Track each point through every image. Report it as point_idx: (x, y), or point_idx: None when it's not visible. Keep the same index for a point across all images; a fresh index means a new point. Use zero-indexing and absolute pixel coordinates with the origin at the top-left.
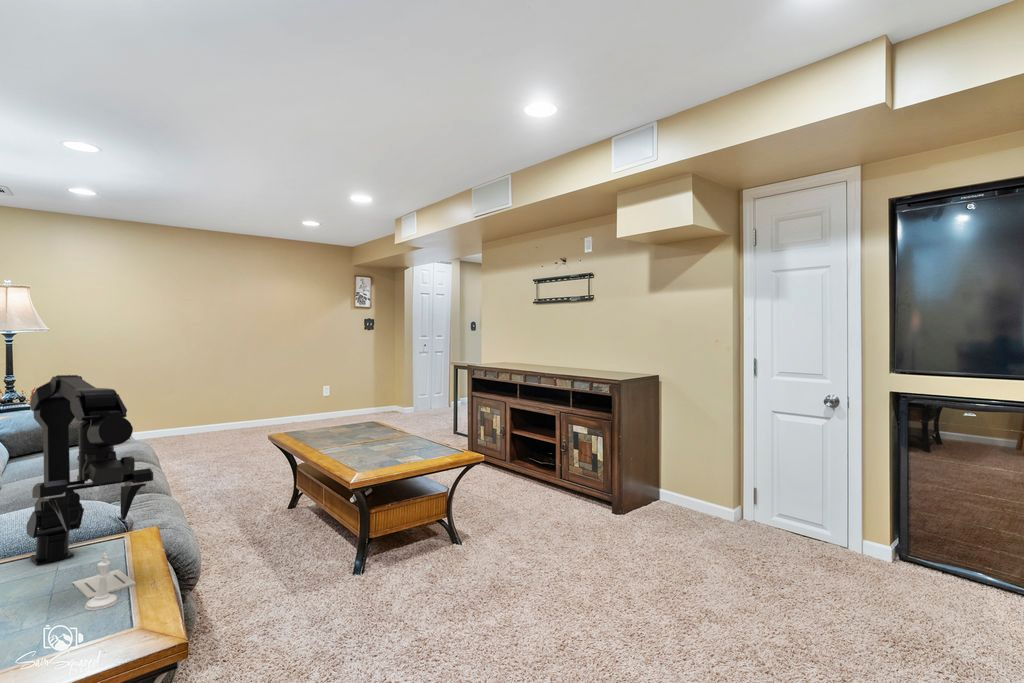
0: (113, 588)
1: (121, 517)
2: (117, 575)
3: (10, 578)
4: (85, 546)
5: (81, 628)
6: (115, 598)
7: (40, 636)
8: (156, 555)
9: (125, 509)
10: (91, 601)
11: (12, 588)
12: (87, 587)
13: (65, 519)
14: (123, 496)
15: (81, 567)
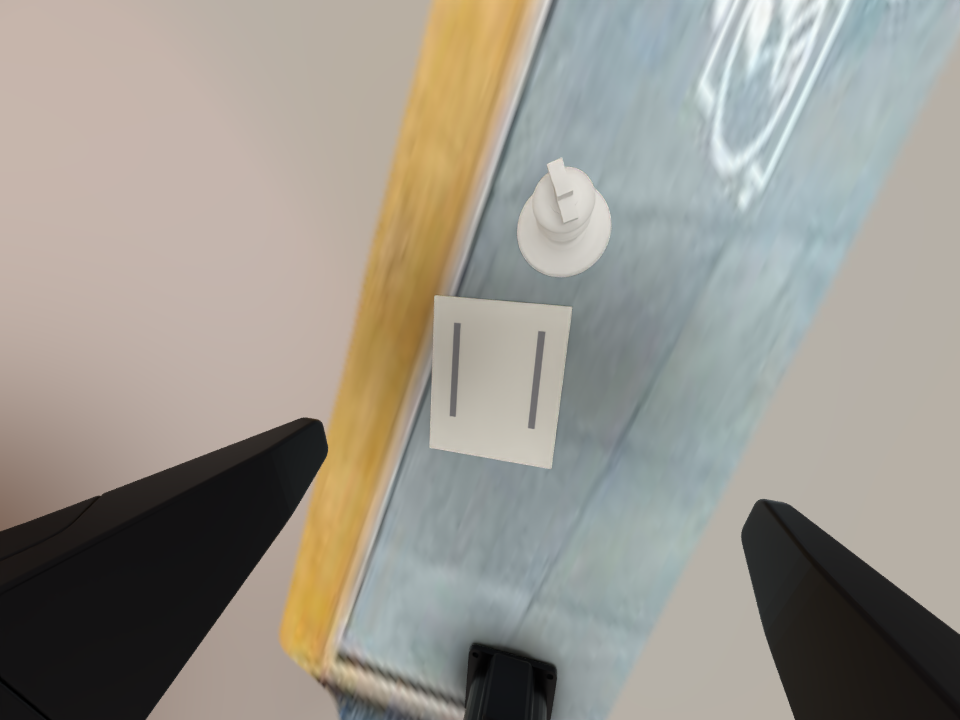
0: (495, 309)
1: (316, 465)
2: (448, 403)
3: (637, 648)
4: (425, 680)
5: (694, 64)
6: (530, 199)
7: (807, 117)
8: None
9: (227, 464)
10: (595, 231)
11: (667, 579)
12: (541, 388)
13: (949, 642)
14: (74, 702)
15: (486, 558)
